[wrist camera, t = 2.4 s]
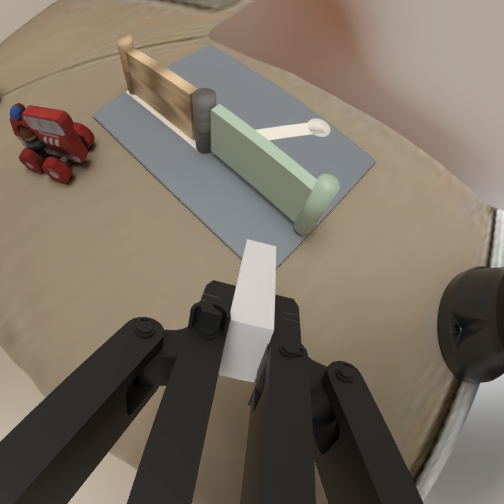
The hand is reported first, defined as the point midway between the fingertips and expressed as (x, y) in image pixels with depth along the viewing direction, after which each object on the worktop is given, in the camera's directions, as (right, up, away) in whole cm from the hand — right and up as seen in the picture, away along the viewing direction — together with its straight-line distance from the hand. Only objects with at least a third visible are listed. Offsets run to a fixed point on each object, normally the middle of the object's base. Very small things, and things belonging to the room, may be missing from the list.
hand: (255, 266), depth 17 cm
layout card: (-3, +16, +22) cm, 27 cm away
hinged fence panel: (+1, +8, +18) cm, 20 cm away
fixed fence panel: (-11, +18, +22) cm, 30 cm away
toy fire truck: (-25, +13, +19) cm, 34 cm away
